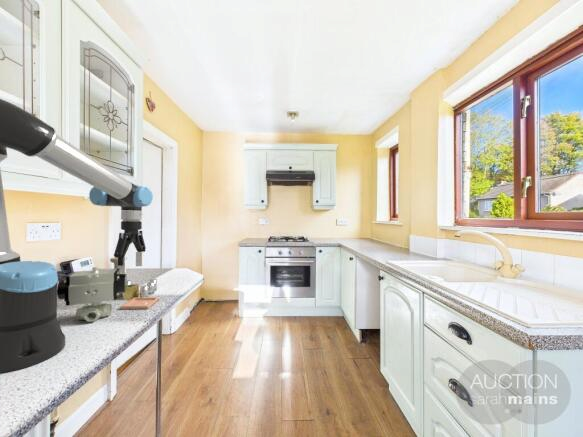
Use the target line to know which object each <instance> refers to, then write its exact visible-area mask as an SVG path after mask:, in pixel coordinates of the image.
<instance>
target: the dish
mask: <svg viewBox="0 0 583 437" xmlns="http://www.w3.org/2000/svg"><path fill="white" fill-rule="evenodd" d="M159 301H160V297H158V296H157V297H156V296H155V297H153V296H152V297H149V296H148V297H140V296H139V297H136V298H133V299H129V300H128V301H126V302H125V303H123V304H122V305H120V307H119V310H149V309H150V308H152V307H153V305H155V304H156V303H158V302H159Z"/></svg>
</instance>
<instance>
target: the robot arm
mask: <svg viewBox="0 0 583 437" xmlns="http://www.w3.org/2000/svg"><path fill="white" fill-rule="evenodd" d="M7 149H11V150H14V151H16V152H19V153H21V154H23V155H25V156H27V157H31V158H32V157H37V158H40V159H41V160H43V161H45V162H47V163H49V164H50V165H52V166H54V167H56V168H58V169H60V170H62V171H64V172H66V173H68V174H70V175H72V176H74V177H75V178H77V179H79V180H81V181H82V182H85V183H87V184H88V185H90V186H92V188H90V191H89V196H88V198H89V201H90V202H91V204H92V205H94V206H99V207H100V206H101V207H120V210H121V211H120V220H122V221H120V229H121V230H123V231H124V232H119V234H118V240H117V243H116V246H115V250H114V254H113V258H118V269H120V272H121V273H123V274H127V271H126V270H127V268H126V267H127V260H126V257H127V256H126V254H127V252H128V249H129V247H130V245H131V244H133V246H134V248H135V250H136V252H135V267H143V266H144V252H146V245H145V244H146V243H145V240H144V236H143V230H142V228H143V227H142V226H143V224H142V223H143V222H142V221H141V220H142V217H143V212H142V210H143V209H142V208H143V207H147V206H149V205H151V204H152V201H153V198H154V196H153V192H152V191H151V189H150V188H148V187H147V186H143V185H139V184H134V183H132V182H131V181H130V180H127V179H126V178H125V177H124V176H121V175H120V174H119V173H118V172H115V170H112V169H111V168H109V167H108V166H107V165H104V164H103V163H101V162H100V161H98V160H97V159H95V158H94V157H92V156H91V155H89V154H87V153H86V152H84V151H83V150H81V149H80V148H78V147H76V146H75V145H73V144H71V142H68V141H67V140H65V139H64V138H63V137H60V135H57V131H56V129H55V127H52V126H51V125H50V124H48V123H46V122H45V121H43V120H41V119H40V118H38V117H37V116H35V115H33V114H32V113H30V112H28V111H26V110H25V109H23V108H21V107H19V106H17V105H15V104H13V103H11V102H9V101H7V100H4V99H2V98H0V163H1V162H3V161H4V160H6V159H8V152H7ZM58 283H59V276H58V270H57V267H56V266H55V265H54V264H52V263H50V262H46V261H40V260H39V261H37V260H36V261H33V260H23V261H22V260H21V255H20V253H19V252H16V251H14V250H12V248H11V240H10V232H9V225H8V216H7V209H6V200H5V194H4V185H3V178H2V170H1V168H0V374H1V373H8V372H13V371H17V370H22V369H25V368H28V367H30V366H33V365H36V364H39V363H42V362H45V361H46V360H48V359H50V358H52V357H54V356H56V355H58V354H59V353H61V351H62V350H64V348H65V347H66V336H65V333H64V332H63V331H62V327H61V325H60V324H59V321H58V296H57V288H58Z"/></svg>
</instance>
